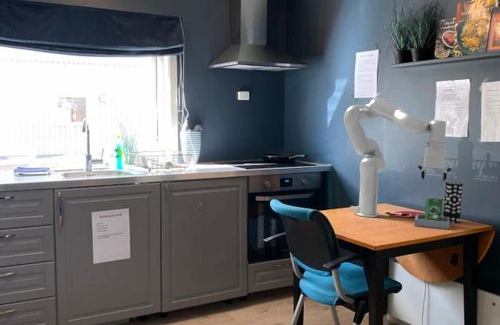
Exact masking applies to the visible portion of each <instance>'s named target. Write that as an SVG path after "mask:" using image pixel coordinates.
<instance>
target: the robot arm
mask: <svg viewBox="0 0 500 325" xmlns="http://www.w3.org/2000/svg"><path fill="white" fill-rule="evenodd" d="M377 117H378V118H379V117H381V118H384V119H386V120H388V121H389V122H392V123H393V124H395V125H397V126H398V127H400V128H402V129H403V130H406V131H408V132H410V133H412V134H413V135H428V141H427V142H424V145H425V146H427V147H426V148H425V152H424V158H423V159H421V160H418V161H416V165H417V167H418V169H419V170H420V171H421V178H422V180H425V174H426V171H425V170H426V169H430V170H431V169H434V170H442V171H443V177H442V181H443V182H446V180H447V176H448V173H449V172H450V171H451V170H452V169H453V167H454V166H455V165H454V163H451V162H450V161H448V160H447V149H446V148H445V146H446V145H445V144H446V133H447V132H446V131H447V122H446V121H444V120H437V119H434V120H432V119H431V120H430V119H425V118H424V119H423V118H417V117H415V116H413V115H411V114H409V113H407V112H406V111H405V110H404V108H403V107H401V106H398V105H397V104H394V103H392V102H390V100H389V99H387V98H385V97H384V98H383V97H375V98H372V99H371V100H370V102H369V103H367V104H353V105H351V106H349V107H348V108H347V109H346V110H345V112H344V115H343V124H344V127H345V130H346V132H347V134H348V136H349V140H350V142H351V143H352V146H353V149H354V151H355V153H356V154H357V155H358V156H364V158H362V159H361V161H360V163H359V199H358V200H359V201H358V205H357V206H355V205H350V210H352V211H355V215H357V216H359V217H365V218H376V217H377V218H378V217H379V216H380V215H381V213H379V212H378V198H379V195H378V194H379V176H378V174H379V173H381V172H383V171H384V170H385V167H386V161H385V157H384V156H383V153H382V151H381V148H380V146H379V143H378V142H377V141H376V140H375V139H374V138H372V137H368V135H367V134H366V131H365V128H364V126H363V125H362V124H361V121H362V122H363V121H369V120H372V119H374V118H377ZM422 163H423V167H422V166H421V164H422ZM447 165H448V166H449V167H448V168H447V169H446V167H447Z"/></svg>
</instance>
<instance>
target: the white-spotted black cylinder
mask: <svg viewBox="0 0 500 325" xmlns="http://www.w3.org/2000/svg"><path fill="white" fill-rule="evenodd" d="M463 188H464V187H463V183H461V182H453V181H445V185H444V199H443V209H442V212H443V213H442V217H450V224H459V223H461V215H462V214H461V213H462V212H461V211H462V202H463V200H462V199H463Z"/></svg>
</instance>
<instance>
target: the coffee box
mask: <svg viewBox="0 0 500 325" xmlns="http://www.w3.org/2000/svg"><path fill="white" fill-rule="evenodd" d="M443 203H444V199H443V198H441V197H426V198H425V211H424V215H425V220H433V221H441V217H442V215H443V213H442V212H443Z"/></svg>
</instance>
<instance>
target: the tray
mask: <svg viewBox="0 0 500 325" xmlns="http://www.w3.org/2000/svg"><path fill="white" fill-rule="evenodd" d="M450 224H451V223H450V217H443V216H441V221H433V220H425V214H421V213H420V214H419V213H417V214H415V217H414V224H413V226H414V227H419V228H429V229H438V230H448V231H449V230H450Z"/></svg>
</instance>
